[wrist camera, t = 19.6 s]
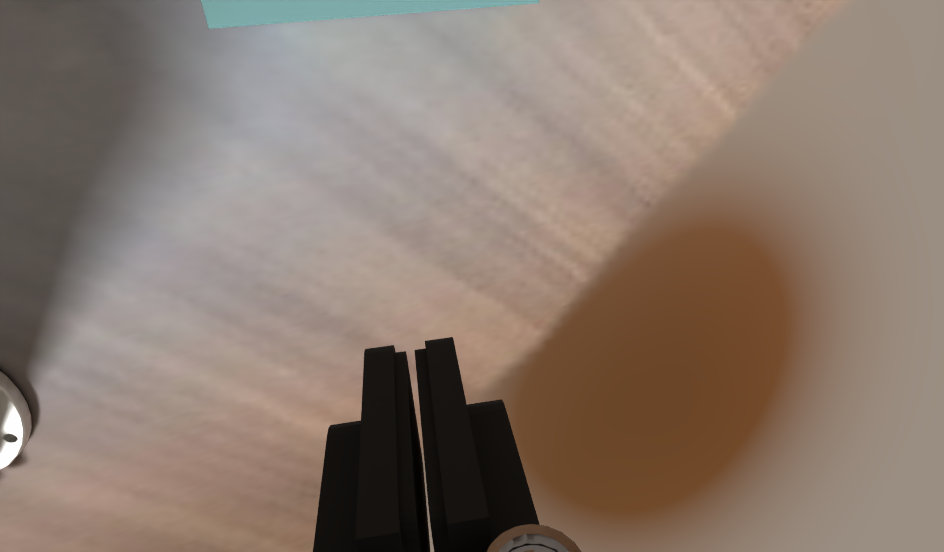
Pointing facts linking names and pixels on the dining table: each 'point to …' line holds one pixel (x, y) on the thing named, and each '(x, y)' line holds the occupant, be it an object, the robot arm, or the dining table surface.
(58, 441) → the dining table surface
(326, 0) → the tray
